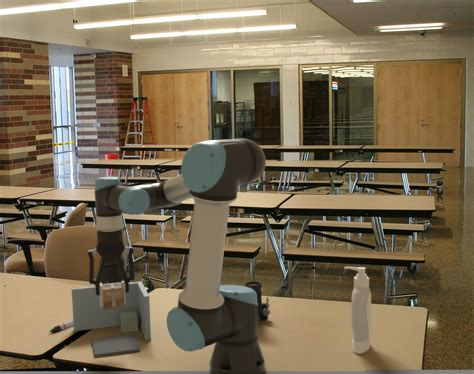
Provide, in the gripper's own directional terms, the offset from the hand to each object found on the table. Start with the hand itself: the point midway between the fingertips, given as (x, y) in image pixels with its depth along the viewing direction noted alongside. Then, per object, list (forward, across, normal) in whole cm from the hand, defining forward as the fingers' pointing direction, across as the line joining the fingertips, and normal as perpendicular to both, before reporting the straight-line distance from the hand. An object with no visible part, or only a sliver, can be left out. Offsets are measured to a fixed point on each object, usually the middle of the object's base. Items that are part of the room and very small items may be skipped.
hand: (112, 304), depth 189 cm
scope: (+13, -47, -5) cm, 49 cm away
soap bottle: (+13, -69, +25) cm, 74 cm away
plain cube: (+13, -6, -14) cm, 20 cm away
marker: (+14, +13, -23) cm, 30 cm away
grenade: (+14, -5, -46) cm, 48 cm away
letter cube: (0, 0, 0) cm, 0 cm away
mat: (+13, 0, 0) cm, 13 cm away
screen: (+13, -1, -10) cm, 17 cm away
